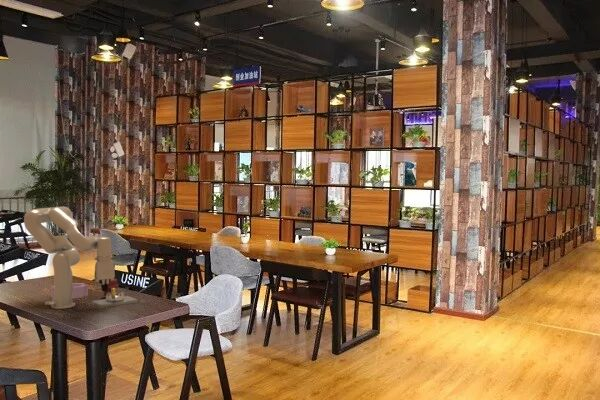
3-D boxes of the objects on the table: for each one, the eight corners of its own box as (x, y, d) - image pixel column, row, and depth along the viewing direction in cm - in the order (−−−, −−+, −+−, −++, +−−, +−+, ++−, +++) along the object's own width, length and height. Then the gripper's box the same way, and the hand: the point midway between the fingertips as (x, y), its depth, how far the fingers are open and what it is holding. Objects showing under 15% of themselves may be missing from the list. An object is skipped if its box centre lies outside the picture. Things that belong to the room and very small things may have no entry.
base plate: (101, 307, 303) (101, 305, 303) (92, 303, 312) (92, 301, 312) (137, 302, 318) (137, 299, 318) (127, 298, 327) (127, 295, 327)
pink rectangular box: (54, 300, 318) (54, 289, 318) (49, 297, 328) (49, 285, 327) (89, 296, 330) (89, 285, 330) (83, 293, 340) (83, 282, 340)
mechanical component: (121, 296, 331) (112, 300, 321) (107, 295, 333) (97, 299, 323) (121, 277, 330) (112, 280, 321) (107, 276, 332) (97, 279, 323)
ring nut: (112, 304, 304) (112, 288, 304) (102, 299, 315) (102, 284, 314) (129, 301, 312) (130, 286, 311) (119, 297, 322) (119, 282, 321)
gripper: (93, 261, 292) (94, 294, 293) (119, 258, 303) (120, 290, 303) (88, 259, 298) (88, 292, 299) (114, 256, 308) (114, 288, 309)
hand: (104, 291), depth 301 cm, fingers closed
